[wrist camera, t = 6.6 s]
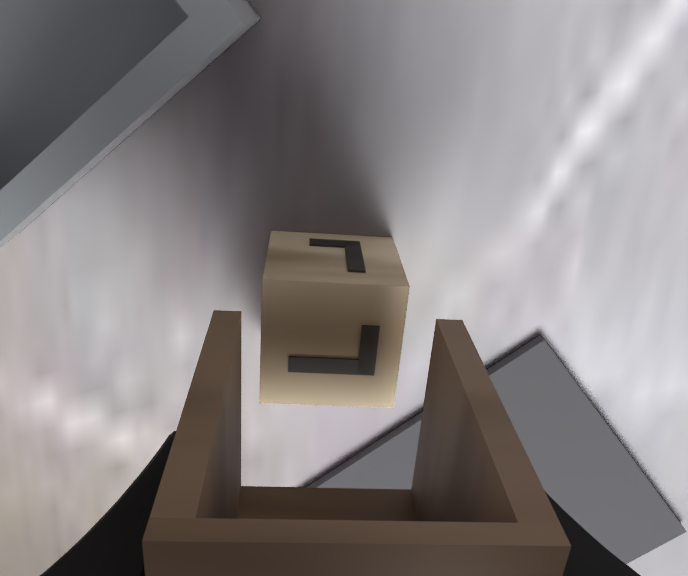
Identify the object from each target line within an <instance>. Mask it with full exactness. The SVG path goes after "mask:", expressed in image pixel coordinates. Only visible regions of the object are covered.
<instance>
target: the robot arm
mask: <svg viewBox="0 0 688 576" xmlns="http://www.w3.org/2000/svg"><path fill="white" fill-rule="evenodd" d="M175 434H176V431H174V432H173V433H172V434H170V435H169V436H168V438H167V439H166V441H165V442H164V444H163V445H162V446H161V448H160V449H159V450H158V452H157V453H156V454H155V456H154V457H153V458H152V460H151V461H150V462H149V464H148V465H147V466H146V467H145V469H144V470H143V471H142V472H141V474H140V475H139V476H138V477H137V478H136V480H135V481H134V482H133V483H132V484H131V486H130V487H129V488H128V489H127V490H126V491H125V493H124V494H123V495H122V496H121V497H120V498H119V500H118V501H117V502H116V503H115V504H114V505H113V506H112V507H111V508H110V509H109V510H108V512H107V513H106V514H105V515H104V516H103V517H102V518H101V519H100V520H99V521H98V522H97V523H96V524H95V525H94V526H93V527H92V528H91V529H90V531H89V532H88V533H87V534H85V535H84V536H83V537H82V538H81V539H80V540H79V541H78V542H77V543H76V544H75V545H74V546H73V547H72V548H71V549H70V550H69V551H68V552H67V553H65V554H64V555H63V556H62V557H61V558H60V559H59V560H58V561H57V562H55V563H54V564H53V565H52V566H51V567H50V568H49V569H47V570H46V571H45V572H44V573H43V574H41V575H40V576H145V569H144V558H143V546H142V540H143V536H144V533H145V530H146V527H147V524H148V520H149V517H150V514H151V511H152V508H153V504H154V501H155V498H156V495H157V492H158V488H159V485H160V482H161V479H162V475H163V472H164V469H165V466H166V463H167V459H168V456H169V453H170V450H171V447H172V443H173V440H174V437H175ZM545 493H546V492H545ZM546 495H547V497H548V499H549V501H550V503H551V505H552V507H553V509H554V511H555V513H556V515H557V518H558V520H559V522H560V524H561V526H562V528H563V530H564V532H565V534H566V536H567V538H568V540H569V542H570V544H571V549H570V552H569V556H568V559H567V562H566V566H565V569H564V572H563V576H640V575H639V574H638V573H636V572H635V571H634V570H633V569H631V568H630V567H629V566H628V565H626V564H625V563H624V562H622V561H621V560H620V559H619V558H617V557H616V556H615V555H614V554H612V553H611V552H610V551H609V550H608V549H606V548H605V547H604V546H603V545H602V544H600V543H599V542H598V541H597V540H596V539H595V538H594V537H593V536H591V535H590V534H589V533H588V532H587V531H586V530H585V529H584V528H583V527H582V526H580V525H579V524H578V523H577V522H576V521H575V520H574V519H573V518H572V517H571V516H570V515H569V514H568V513H567V512H565V511H564V510H563V509H562V508H561V507H560V506H559V505H558V504H557V503H556V502H555V501H554V500H553V499H552V498H551V497H550V496H549V495H548V494H547V493H546Z"/></svg>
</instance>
